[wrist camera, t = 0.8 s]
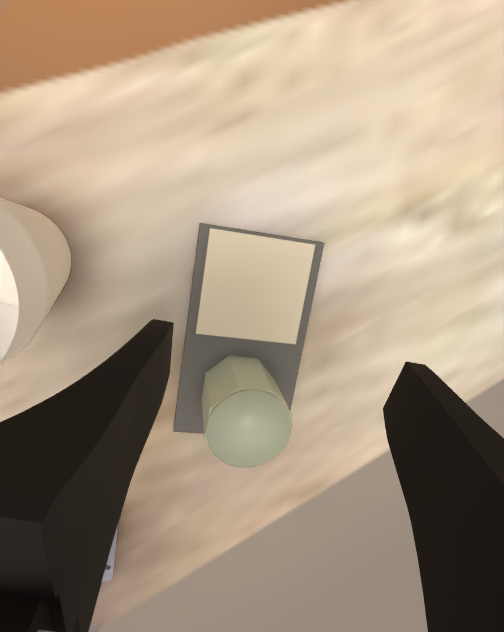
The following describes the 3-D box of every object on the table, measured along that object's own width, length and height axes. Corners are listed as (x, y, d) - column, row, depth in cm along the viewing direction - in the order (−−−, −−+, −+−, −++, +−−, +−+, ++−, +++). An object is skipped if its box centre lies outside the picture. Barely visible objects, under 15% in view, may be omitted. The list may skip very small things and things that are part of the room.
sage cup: (265, 422, 33) (283, 469, 27) (198, 418, 31) (201, 466, 26) (277, 360, 31) (298, 395, 26) (208, 353, 30) (213, 388, 24)
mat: (283, 434, 34) (284, 439, 33) (173, 428, 32) (173, 433, 31) (322, 242, 30) (325, 243, 29) (199, 223, 28) (200, 223, 27)
